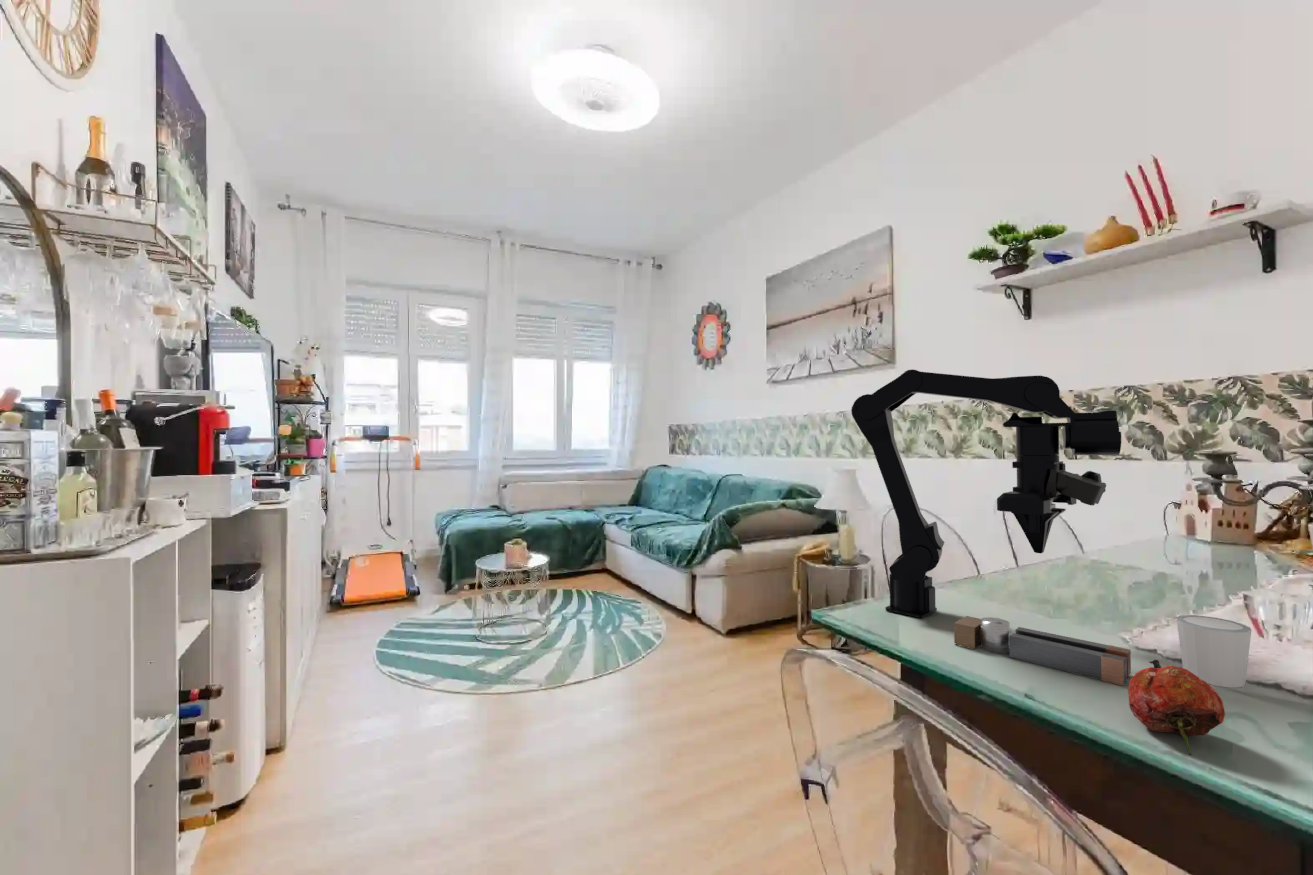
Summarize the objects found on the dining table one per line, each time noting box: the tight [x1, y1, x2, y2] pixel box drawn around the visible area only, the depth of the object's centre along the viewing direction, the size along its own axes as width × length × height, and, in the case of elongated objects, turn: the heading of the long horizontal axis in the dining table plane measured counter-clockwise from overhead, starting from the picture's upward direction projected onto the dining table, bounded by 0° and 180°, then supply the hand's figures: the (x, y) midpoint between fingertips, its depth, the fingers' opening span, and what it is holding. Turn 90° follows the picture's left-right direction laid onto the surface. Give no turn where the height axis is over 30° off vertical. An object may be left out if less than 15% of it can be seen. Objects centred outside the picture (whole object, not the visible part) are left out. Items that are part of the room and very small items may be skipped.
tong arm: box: [1014, 626, 1132, 678], centre depth 78 cm, size 12×2×3 cm, turn 43°
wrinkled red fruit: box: [1127, 659, 1226, 756], centre depth 59 cm, size 7×7×10 cm
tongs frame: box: [953, 615, 1128, 687], centre depth 79 cm, size 20×5×4 cm, turn 41°
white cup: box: [1176, 614, 1253, 689], centre depth 73 cm, size 7×7×7 cm
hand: (1039, 552), depth 92 cm, fingers closed
